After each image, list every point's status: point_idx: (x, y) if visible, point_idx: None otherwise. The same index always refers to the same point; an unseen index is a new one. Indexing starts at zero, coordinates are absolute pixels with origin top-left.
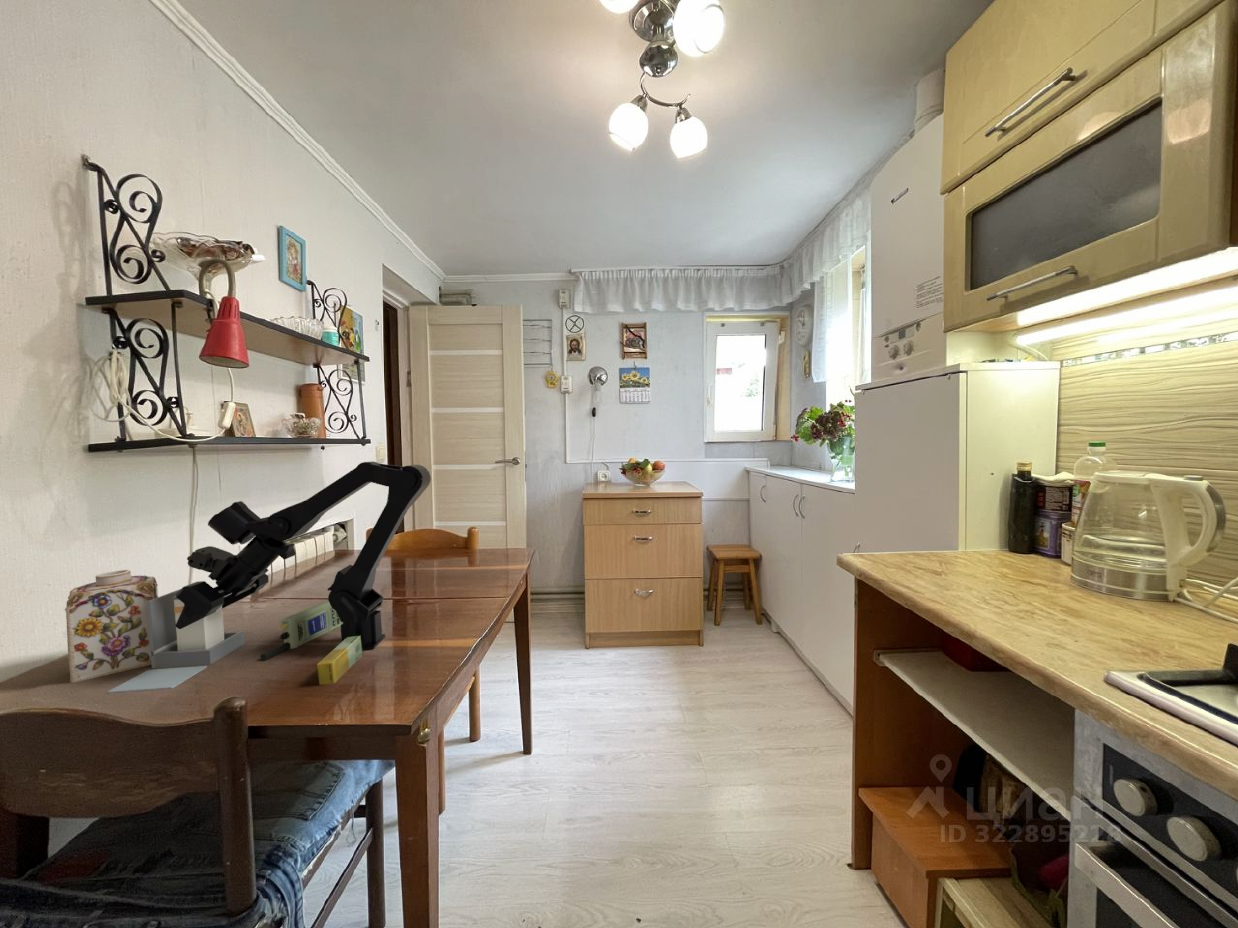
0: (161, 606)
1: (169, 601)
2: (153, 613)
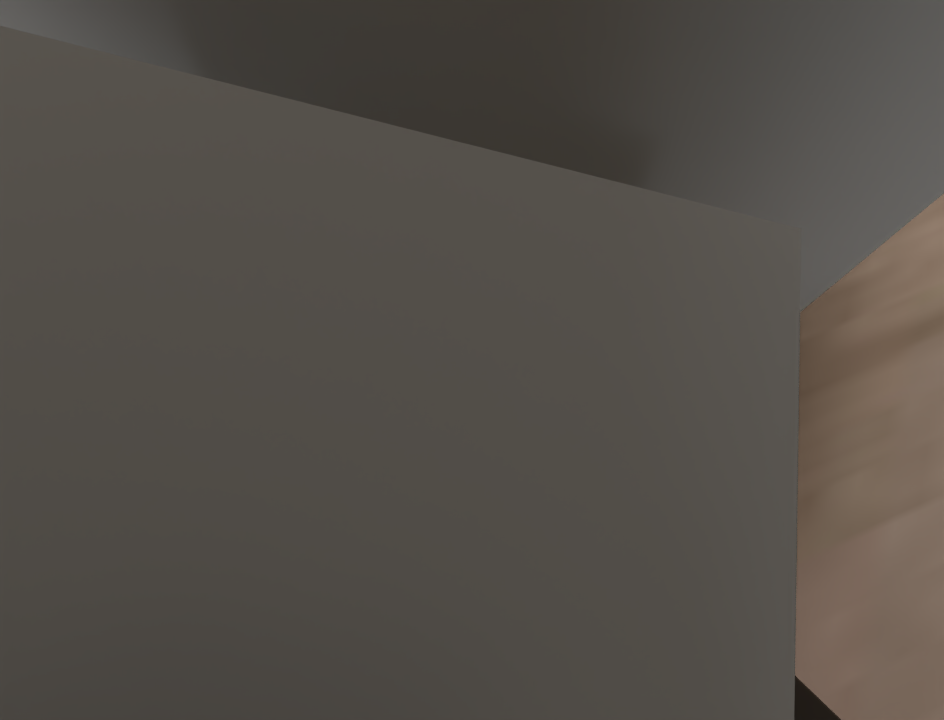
0: (160, 5)
1: (350, 23)
2: (5, 23)
